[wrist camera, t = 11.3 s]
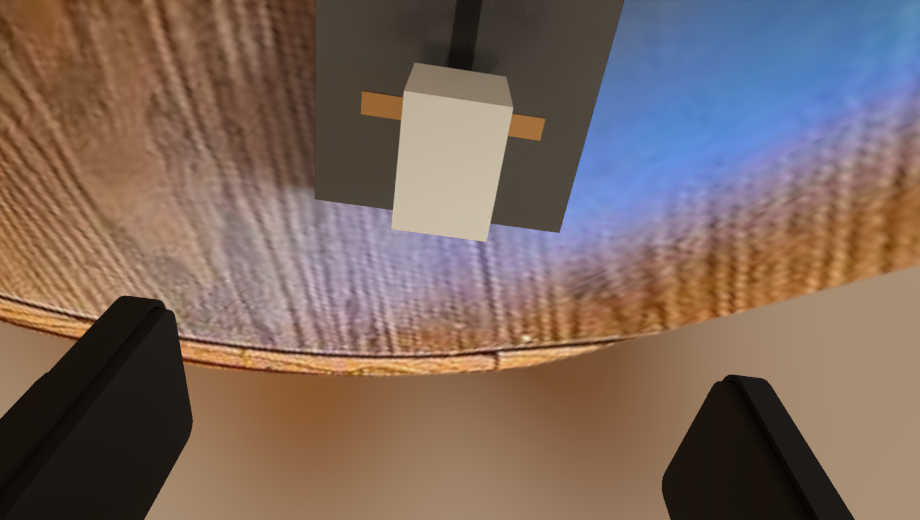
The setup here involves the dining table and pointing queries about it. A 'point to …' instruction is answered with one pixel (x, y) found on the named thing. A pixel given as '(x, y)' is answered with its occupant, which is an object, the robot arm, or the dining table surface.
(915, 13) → the dining table surface
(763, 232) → the dining table surface
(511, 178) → the fader console
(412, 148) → the fader knob
